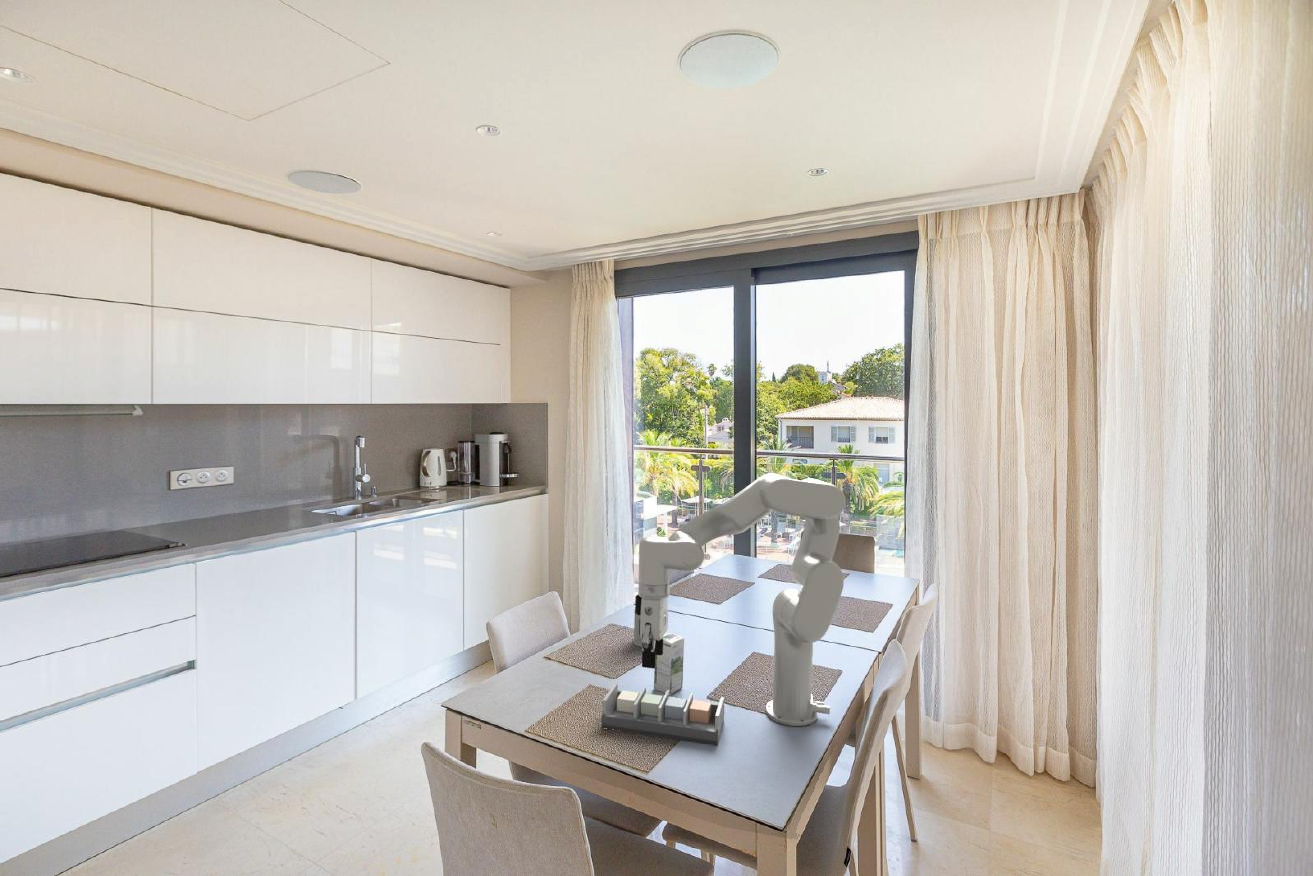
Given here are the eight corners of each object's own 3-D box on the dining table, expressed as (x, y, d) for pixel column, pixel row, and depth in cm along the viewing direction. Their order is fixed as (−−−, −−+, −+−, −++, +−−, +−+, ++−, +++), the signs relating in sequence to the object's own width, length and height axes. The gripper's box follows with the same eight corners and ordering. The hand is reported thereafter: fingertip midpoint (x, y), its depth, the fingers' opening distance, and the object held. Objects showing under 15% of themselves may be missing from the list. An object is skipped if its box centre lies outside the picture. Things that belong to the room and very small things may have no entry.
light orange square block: (710, 714, 150) (711, 702, 150) (708, 723, 146) (708, 711, 146) (692, 711, 151) (693, 699, 151) (689, 720, 147) (689, 708, 147)
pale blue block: (686, 711, 152) (686, 699, 151) (682, 719, 147) (683, 707, 147) (668, 708, 153) (669, 696, 152) (664, 717, 148) (665, 705, 148)
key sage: (662, 707, 153) (662, 695, 153) (658, 716, 149) (658, 704, 149) (645, 705, 154) (645, 693, 154) (640, 713, 150) (640, 701, 150)
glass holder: (660, 637, 207) (661, 593, 206) (656, 654, 193) (657, 607, 192) (634, 636, 208) (635, 592, 207) (628, 653, 194) (629, 605, 193)
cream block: (639, 704, 154) (639, 692, 154) (634, 713, 150) (634, 700, 150) (622, 702, 155) (622, 690, 155) (616, 710, 151) (617, 698, 151)
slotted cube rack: (723, 722, 153) (724, 696, 153) (717, 745, 142) (718, 717, 142) (615, 706, 160) (615, 681, 159) (601, 728, 149) (601, 701, 148)
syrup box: (666, 682, 174) (667, 631, 173) (683, 688, 170) (684, 637, 170) (653, 689, 170) (654, 637, 169) (670, 696, 166) (671, 643, 165)
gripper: (660, 601, 140) (659, 678, 141) (676, 580, 157) (675, 649, 158) (628, 598, 142) (627, 674, 143) (647, 577, 159) (646, 645, 160)
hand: (652, 660), depth 151 cm, fingers open, 7 cm apart
